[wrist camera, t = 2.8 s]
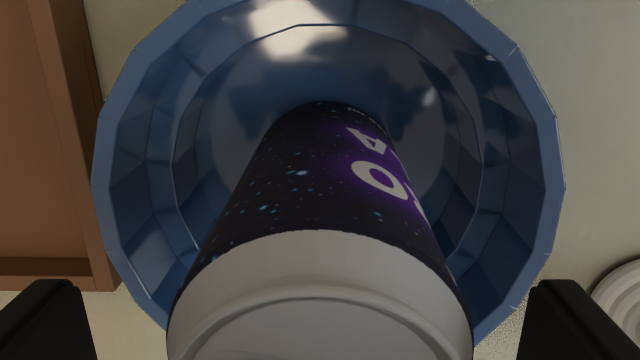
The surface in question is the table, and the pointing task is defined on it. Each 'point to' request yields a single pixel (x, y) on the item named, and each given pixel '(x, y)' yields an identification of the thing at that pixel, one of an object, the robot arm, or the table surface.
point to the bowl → (339, 86)
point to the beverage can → (321, 256)
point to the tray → (49, 148)
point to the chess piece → (622, 298)
